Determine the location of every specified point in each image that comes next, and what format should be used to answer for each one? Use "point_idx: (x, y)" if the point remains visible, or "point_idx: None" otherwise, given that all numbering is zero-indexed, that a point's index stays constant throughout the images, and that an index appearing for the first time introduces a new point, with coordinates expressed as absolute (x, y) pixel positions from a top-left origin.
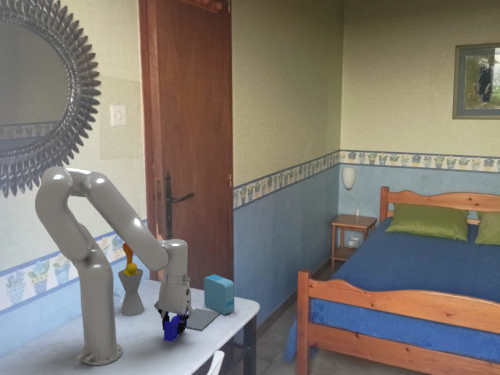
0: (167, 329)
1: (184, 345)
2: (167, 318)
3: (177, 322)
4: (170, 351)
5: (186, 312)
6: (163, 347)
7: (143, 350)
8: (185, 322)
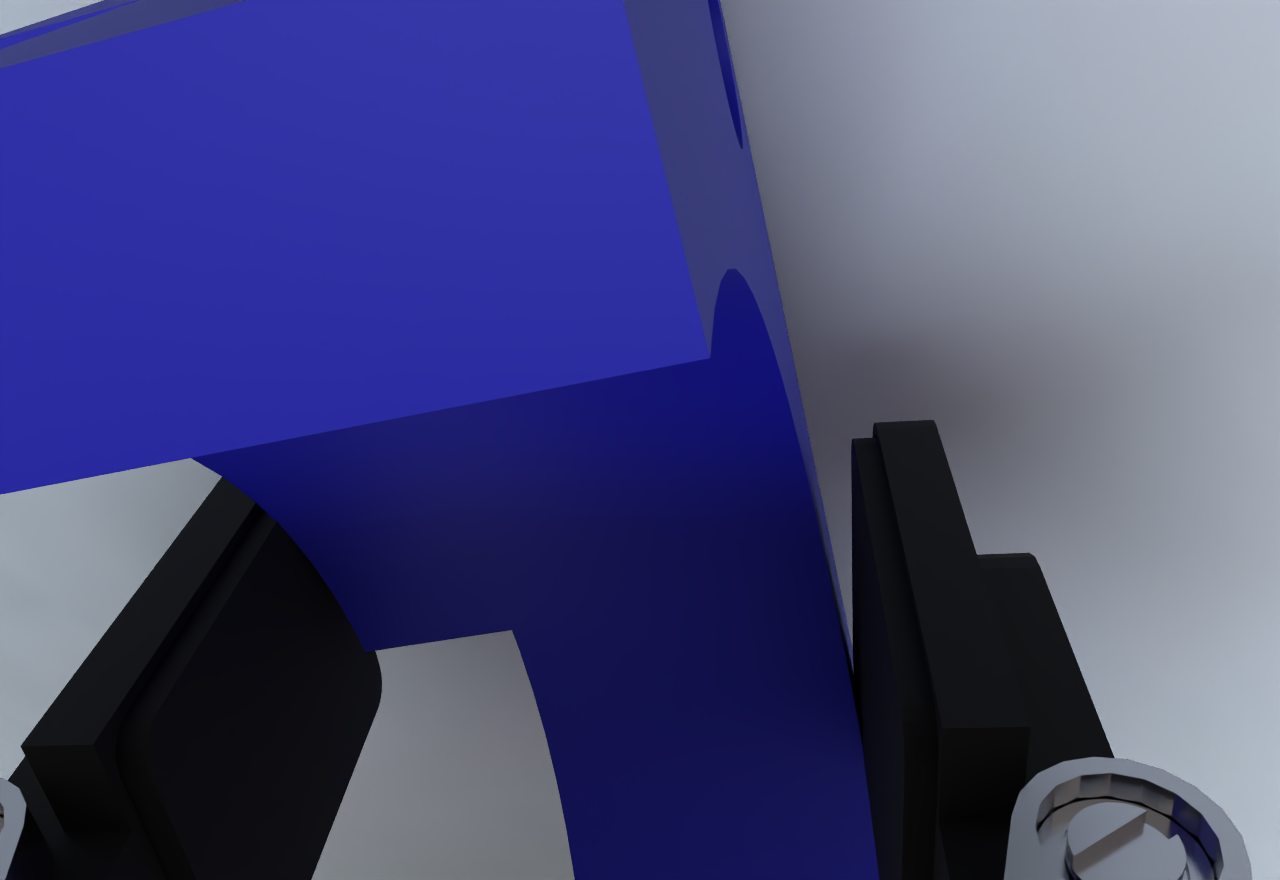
0: None
1: (1043, 504)
2: (205, 867)
3: (505, 417)
4: None
5: (672, 69)
6: None
7: (387, 866)
8: (1113, 757)
